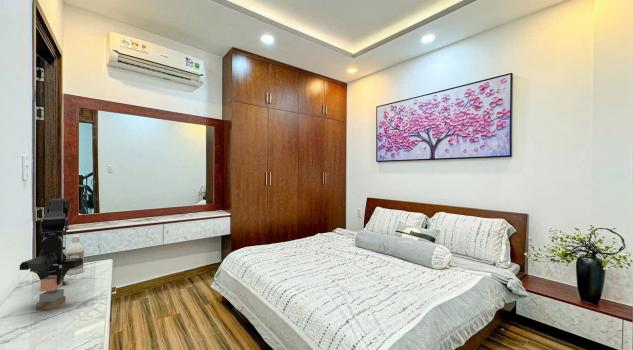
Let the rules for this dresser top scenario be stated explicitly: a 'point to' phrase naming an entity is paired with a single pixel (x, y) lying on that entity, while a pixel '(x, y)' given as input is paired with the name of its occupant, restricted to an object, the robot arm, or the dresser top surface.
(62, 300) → the walnut base block
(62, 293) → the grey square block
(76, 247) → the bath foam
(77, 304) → the dresser top surface
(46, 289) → the terracotta cube
